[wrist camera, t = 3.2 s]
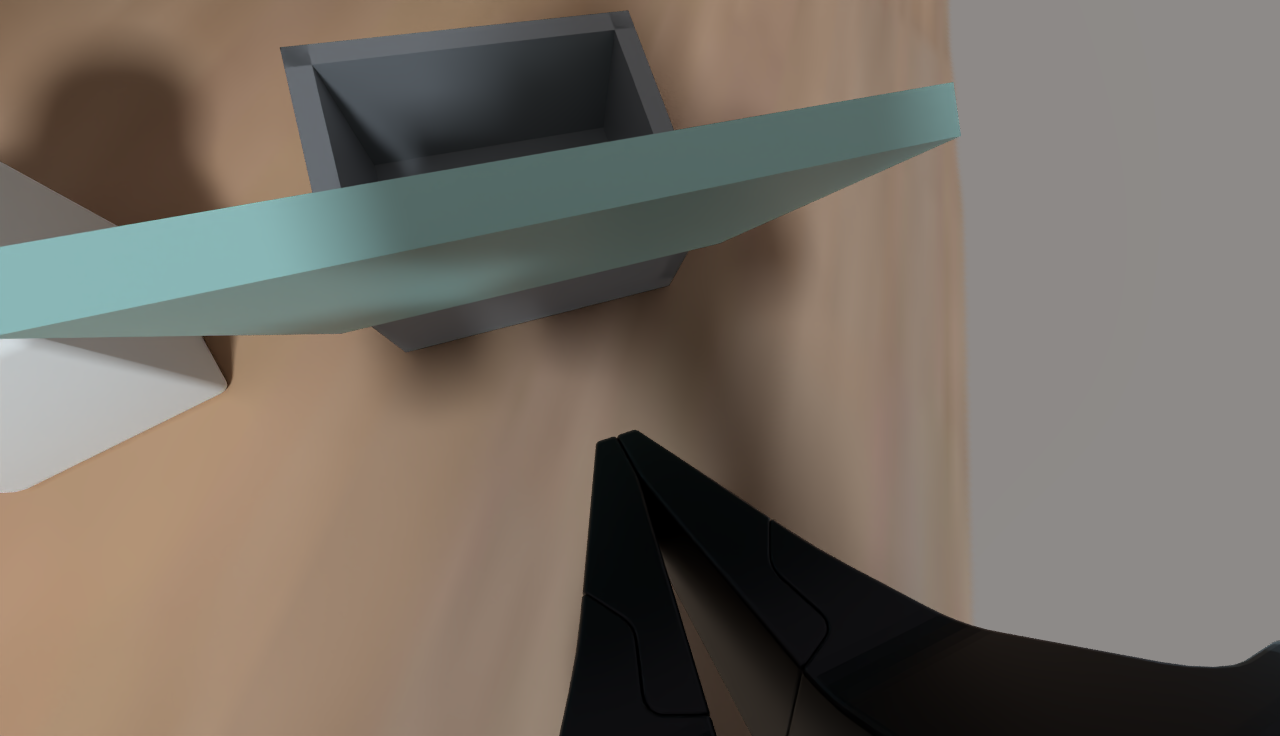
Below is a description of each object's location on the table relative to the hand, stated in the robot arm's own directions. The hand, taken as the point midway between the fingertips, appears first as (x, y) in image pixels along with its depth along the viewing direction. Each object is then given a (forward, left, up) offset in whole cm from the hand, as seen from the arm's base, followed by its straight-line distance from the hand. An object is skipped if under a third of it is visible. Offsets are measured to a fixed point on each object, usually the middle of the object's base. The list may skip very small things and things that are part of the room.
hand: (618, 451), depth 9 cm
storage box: (+7, +9, -10) cm, 15 cm away
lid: (+3, +4, 0) cm, 5 cm away
